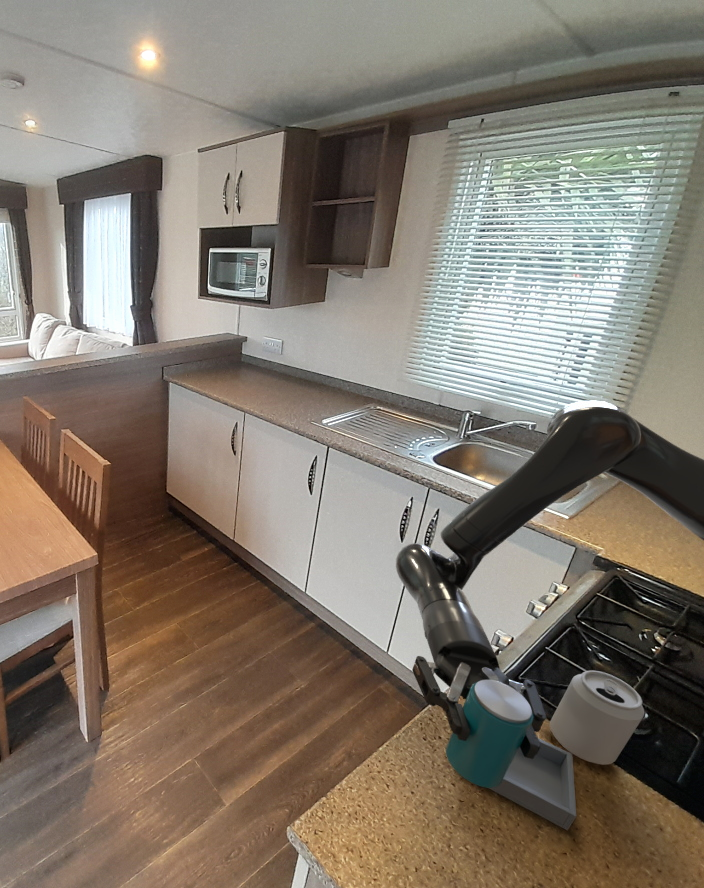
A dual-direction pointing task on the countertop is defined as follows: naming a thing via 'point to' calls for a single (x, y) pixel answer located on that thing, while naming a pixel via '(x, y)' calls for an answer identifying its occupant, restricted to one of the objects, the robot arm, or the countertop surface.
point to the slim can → (490, 733)
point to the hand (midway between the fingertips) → (497, 744)
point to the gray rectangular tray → (542, 784)
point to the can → (597, 716)
